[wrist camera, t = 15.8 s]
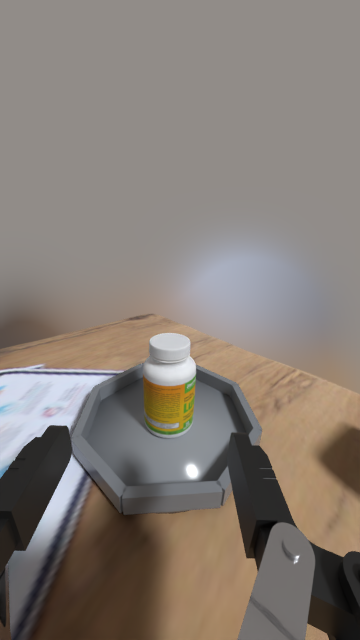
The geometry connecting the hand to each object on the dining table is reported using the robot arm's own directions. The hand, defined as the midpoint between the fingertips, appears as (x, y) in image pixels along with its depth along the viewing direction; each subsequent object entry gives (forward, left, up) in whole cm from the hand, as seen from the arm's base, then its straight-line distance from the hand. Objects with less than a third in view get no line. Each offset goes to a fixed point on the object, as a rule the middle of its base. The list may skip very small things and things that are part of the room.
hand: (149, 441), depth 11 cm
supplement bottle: (-7, +9, -10) cm, 15 cm away
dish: (-7, +9, -10) cm, 15 cm away
